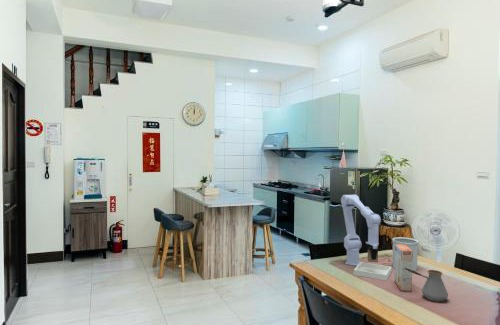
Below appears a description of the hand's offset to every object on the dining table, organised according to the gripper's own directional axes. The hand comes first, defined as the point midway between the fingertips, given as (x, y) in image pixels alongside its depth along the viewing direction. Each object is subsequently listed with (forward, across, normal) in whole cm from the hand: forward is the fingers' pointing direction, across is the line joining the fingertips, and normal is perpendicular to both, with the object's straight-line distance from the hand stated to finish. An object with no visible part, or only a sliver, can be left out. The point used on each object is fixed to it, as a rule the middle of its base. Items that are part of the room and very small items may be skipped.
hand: (372, 258), depth 206 cm
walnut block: (+2, 0, 0) cm, 2 cm away
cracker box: (+9, +19, +12) cm, 25 cm away
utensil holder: (+9, -15, +21) cm, 27 cm away
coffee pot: (+9, +34, +19) cm, 40 cm away
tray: (+9, 0, 0) cm, 9 cm away
